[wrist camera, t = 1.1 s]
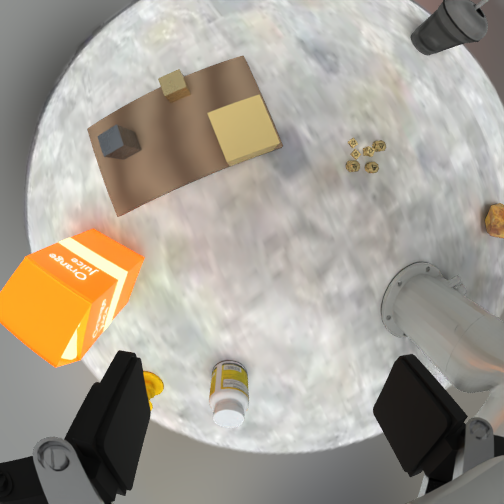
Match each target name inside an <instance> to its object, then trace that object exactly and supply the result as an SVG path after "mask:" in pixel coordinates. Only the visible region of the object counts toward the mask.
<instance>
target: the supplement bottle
mask: <svg viewBox="0 0 504 504" xmlns="http://www.w3.org/2000/svg"><path fill="white" fill-rule="evenodd" d="M209 405H210V408H211V409H212V411H213V420H214V422H215V423H216V424H217V425H219V426H221V427H225V428H234V427H238V426H240V425H241V424H242V423H243V422H244V413H245V412H246V410H247V409H248V406H249V394H248V377H247V371H246V369H245V368H244V367H243V366H242V365H241V364H239V363H237V362H234V361H224V362H221V363H219V364H217V365H216V366H215V367H214V369H213V372H212V379H211V388H210V397H209Z"/></svg>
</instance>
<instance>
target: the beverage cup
mask: <svg viewBox="0 0 504 504" xmlns="http://www.w3.org/2000/svg"><path fill="white" fill-rule="evenodd" d="M487 1H489V0H482V1H481V2H479V3H478V4H477V5H476V4H474V3H473V2H472V1H470V0H443V3H442V4H441V5H440V6H439V8H438V10H436V11H435V12H434V13H433V14H432V15H431V16H430V17H429V18H428V19H427V20H426V21H425V22H424V23H423V24H421V25H420V26H419V27H418V28H417V29H416V31H415V32H414V33H413V34H412V35H411V40H412V43H413V44H414V46H415V47H416V48H417V50H419V51H420V52H421V53H423V54H425V55H431V54H434V53H438V52H440V51H443V50H446V49H449V48H452V47H455V46H458V45H461V44H464V43H471V42H478V41H479V40H480V39H481V38H483V37H484V36H485V35H486V33H487V27H488V23H487V20H486V17H485V15H484V13H483V12H482V10H481V9H480V8H479V7H481V6H482V5H483V4H485V3H486V2H487Z"/></svg>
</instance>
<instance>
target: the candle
mask: <svg viewBox="0 0 504 504" xmlns="http://www.w3.org/2000/svg"><path fill="white" fill-rule="evenodd" d="M143 374H144V380H145V385H146V391H147V396H148V400H149V405H150V411H151V410H152V408H153V406H152V403H151V402H150V398H153V397H154V396H155V395H158V394H160V393H161V392H162V391H163V389H164V385H163V382H162V380H161V379H160V378H159V377H158V376H156V375H155V374H153V373H150V372H145V371H143Z"/></svg>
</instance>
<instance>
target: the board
mask: <svg viewBox="0 0 504 504" xmlns="http://www.w3.org/2000/svg"><path fill="white" fill-rule="evenodd" d="M184 78H185V81H186V83H187V86H188V88H189V91H190V93H191V95H189V96H187V97H184V98H182V99H180V100H177V101H175V102H173V103H170V102H169V100H168V99H167V98H166V97H165V96H164V93H163V91H162V88H161V87H160V88H158V89H156V90H154V91H152V92H150V93H148V94H146V95H144V96H142V97H140V98H138V99H136V100H134V101H133V102H131V103H129V104H127V105H125V106H124V107H122V108H120V109H118V110H117V111H115V112H113V113H112V114H110V115H108V116H107V117H105V118H103V119H102V120H100V121H99V122H97V123H96V124H94V125H92V126H91V127H89V128H88V129H87V130H88V133H89V137H90V140H91V143H92V147H93V150H94V153H95V156H96V159H97V162H98V165H99V168H100V171H101V174H102V177H103V180H104V183H105V185H106V188H107V191H108V194H109V196H110V199H111V202H112V204H113V207H114V209H115V212H116V214H117V217H119V216H122V215H123V214H125V213H127V212H129V211H131V210H133V209H135V208H137V207H139V206H141V205H143V204H145V203H147V202H149V201H152V200H154V199H156V198H158V197H160V196H162V195H164V194H166V193H169V192H171V191H173V190H175V189H177V188H180V187H182V186H184V185H186V184H189V183H191V182H193V181H196V180H198V179H200V178H203V177H205V176H207V175H210V174H212V173H215V172H217V171H220V170H222V169H225V168H227V167H230V166H229V164H228V163H227V161H226V159H225V156H224V154H223V151H222V149H221V146H220V144H219V141H218V139H217V136H216V134H215V131H214V129H213V126H212V124H211V121H210V119H209V116H208V114H207V113H209V112H211V111H214V110H216V109H219V108H222V107H224V106H227V105H230V104H233V103H235V102H238V101H241V100H244V99H247V98H250V97H253V96H256V95H259V94H260V96H261V99H262V101H263V103H264V106H265V108H266V110H267V113H268V115H269V117H270V120H271V122H272V124H273V127H274V129H275V132H276V134H277V137H278V139H279V142H280V144H279V145H278V146H277V147H276V148H275V149H274V150H276V149H279V148H282V147H283V145H282V142H281V140H280V137H279V135H278V132H277V130H276V127H275V125H274V123H273V120H272V118H271V115H270V113H269V111H268V108H267V106H266V104H265V101H264V99H263V97H262V95H261V92H260V90H259V88H258V86H257V84H256V81H255V79H254V77H253V75H252V73H251V71H250V68H249V66H248V64H247V62H246V60H245V58H244V56H240V57H237V58H234V59H230V60H227V61H224V62H221V63H219V64H216V65H213V66H210V67H207V68H205V69H202V70H200V71H197V72H194V73H192V74H189V75H187V76H185V77H184ZM115 125H119V126H122V127H124V128H127V129H129V130H131V131H134V132H136V135H137V138H138V141H139V144H140V147H141V149H142V150H141V151H139V152H138V153H136V154H134V155H132V156H130V157H128V158H126V159H125V160H122V159H115V158H108V157H104V156H103V153H102V150H101V147H100V144H99V140H98V137H97V136H99V135H100V134H102V133H103V132H105V131H107V130H108V129H110V128H112V127H113V126H115Z"/></svg>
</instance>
